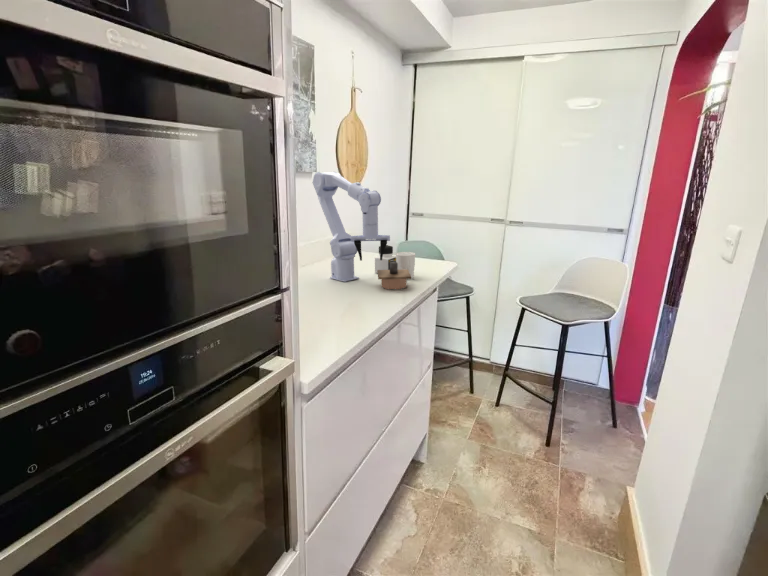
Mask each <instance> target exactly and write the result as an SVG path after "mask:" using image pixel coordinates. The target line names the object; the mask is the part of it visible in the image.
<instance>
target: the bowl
mask: <svg viewBox="0 0 768 576" xmlns="http://www.w3.org/2000/svg"><path fill="white" fill-rule="evenodd" d="M380 281H381V288H382V287H383V289H384V288H385V290H391V289H396V290H402V288H403V289H405V288H407V279H380Z"/></svg>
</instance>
